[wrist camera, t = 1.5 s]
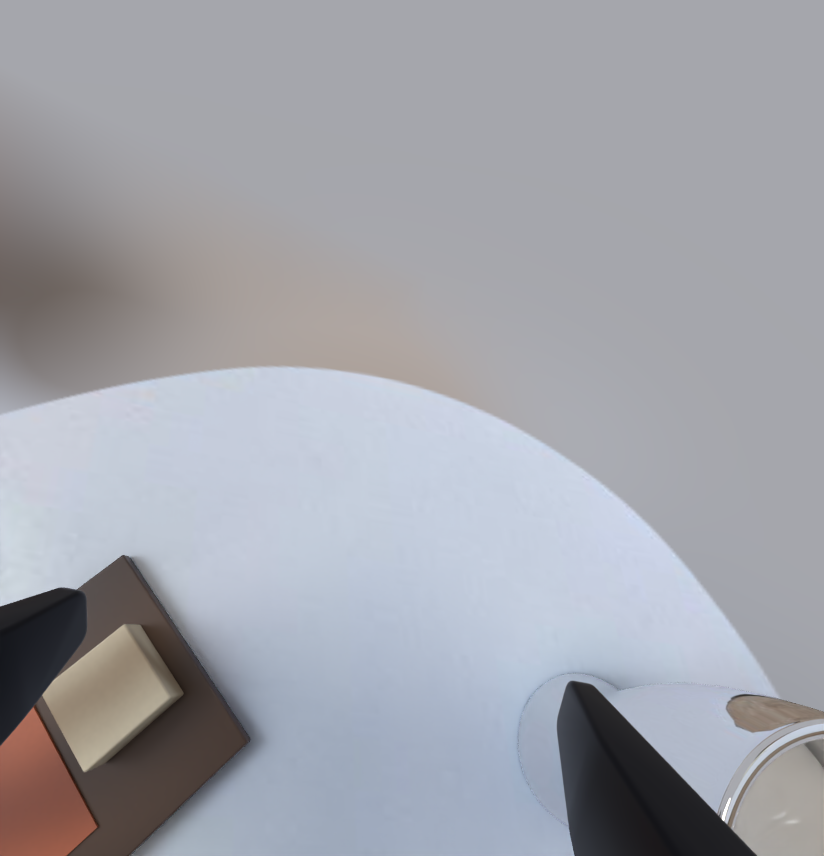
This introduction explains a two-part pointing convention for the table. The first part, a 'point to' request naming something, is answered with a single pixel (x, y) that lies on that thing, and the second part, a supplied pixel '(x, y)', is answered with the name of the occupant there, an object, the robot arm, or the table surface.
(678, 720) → the silver metal cup
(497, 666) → the table surface
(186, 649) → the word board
